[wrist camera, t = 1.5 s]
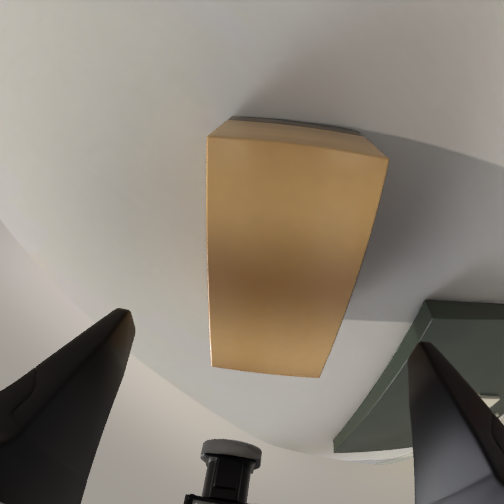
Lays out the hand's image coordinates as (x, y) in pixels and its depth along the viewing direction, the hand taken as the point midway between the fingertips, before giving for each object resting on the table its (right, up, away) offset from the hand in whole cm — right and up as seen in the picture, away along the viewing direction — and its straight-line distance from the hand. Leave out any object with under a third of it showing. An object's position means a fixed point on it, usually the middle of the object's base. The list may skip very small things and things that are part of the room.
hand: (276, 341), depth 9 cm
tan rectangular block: (+1, +3, +5) cm, 6 cm away
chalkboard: (+18, -9, +11) cm, 23 cm away
